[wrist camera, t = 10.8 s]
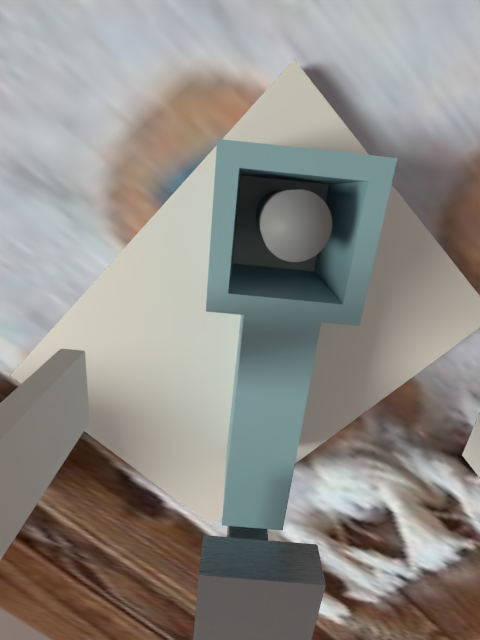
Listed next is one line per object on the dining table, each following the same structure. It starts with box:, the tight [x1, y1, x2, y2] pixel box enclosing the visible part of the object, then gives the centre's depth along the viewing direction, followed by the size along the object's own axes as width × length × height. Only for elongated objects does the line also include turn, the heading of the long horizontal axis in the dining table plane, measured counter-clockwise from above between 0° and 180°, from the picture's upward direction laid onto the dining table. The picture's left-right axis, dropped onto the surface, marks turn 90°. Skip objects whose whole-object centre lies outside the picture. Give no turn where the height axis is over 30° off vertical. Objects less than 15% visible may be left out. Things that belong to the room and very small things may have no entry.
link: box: [206, 139, 397, 530], centre depth 17 cm, size 17×6×6 cm, turn 174°
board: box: [10, 60, 480, 525], centre depth 18 cm, size 23×17×8 cm
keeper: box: [193, 526, 325, 640], centre depth 19 cm, size 6×4×12 cm
